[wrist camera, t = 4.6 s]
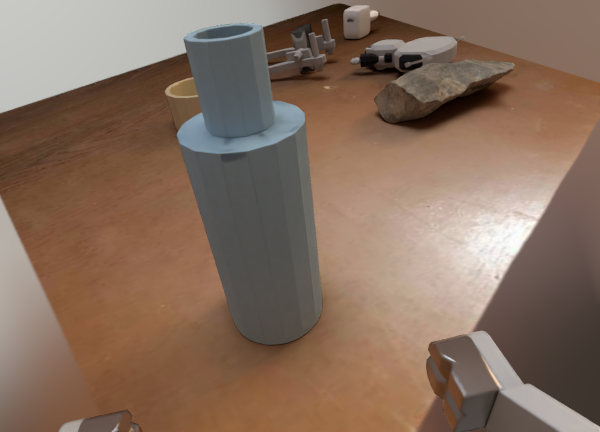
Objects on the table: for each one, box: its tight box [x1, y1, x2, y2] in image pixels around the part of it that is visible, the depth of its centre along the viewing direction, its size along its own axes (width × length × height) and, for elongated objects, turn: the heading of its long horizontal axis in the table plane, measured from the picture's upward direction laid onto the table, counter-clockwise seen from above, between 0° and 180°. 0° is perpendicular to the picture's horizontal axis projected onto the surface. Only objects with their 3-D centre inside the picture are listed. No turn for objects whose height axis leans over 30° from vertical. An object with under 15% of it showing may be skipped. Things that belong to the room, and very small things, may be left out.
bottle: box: [177, 23, 322, 345], centre depth 21 cm, size 6×6×17 cm
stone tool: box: [374, 59, 514, 123], centre depth 50 cm, size 12×6×20 cm
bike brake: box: [266, 19, 336, 74], centre depth 69 cm, size 14×7×20 cm
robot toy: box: [350, 37, 465, 72], centre depth 63 cm, size 12×4×15 cm
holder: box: [165, 77, 202, 131], centre depth 53 cm, size 9×9×5 cm
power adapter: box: [343, 5, 380, 39], centre depth 86 cm, size 11×5×6 cm, turn 146°
